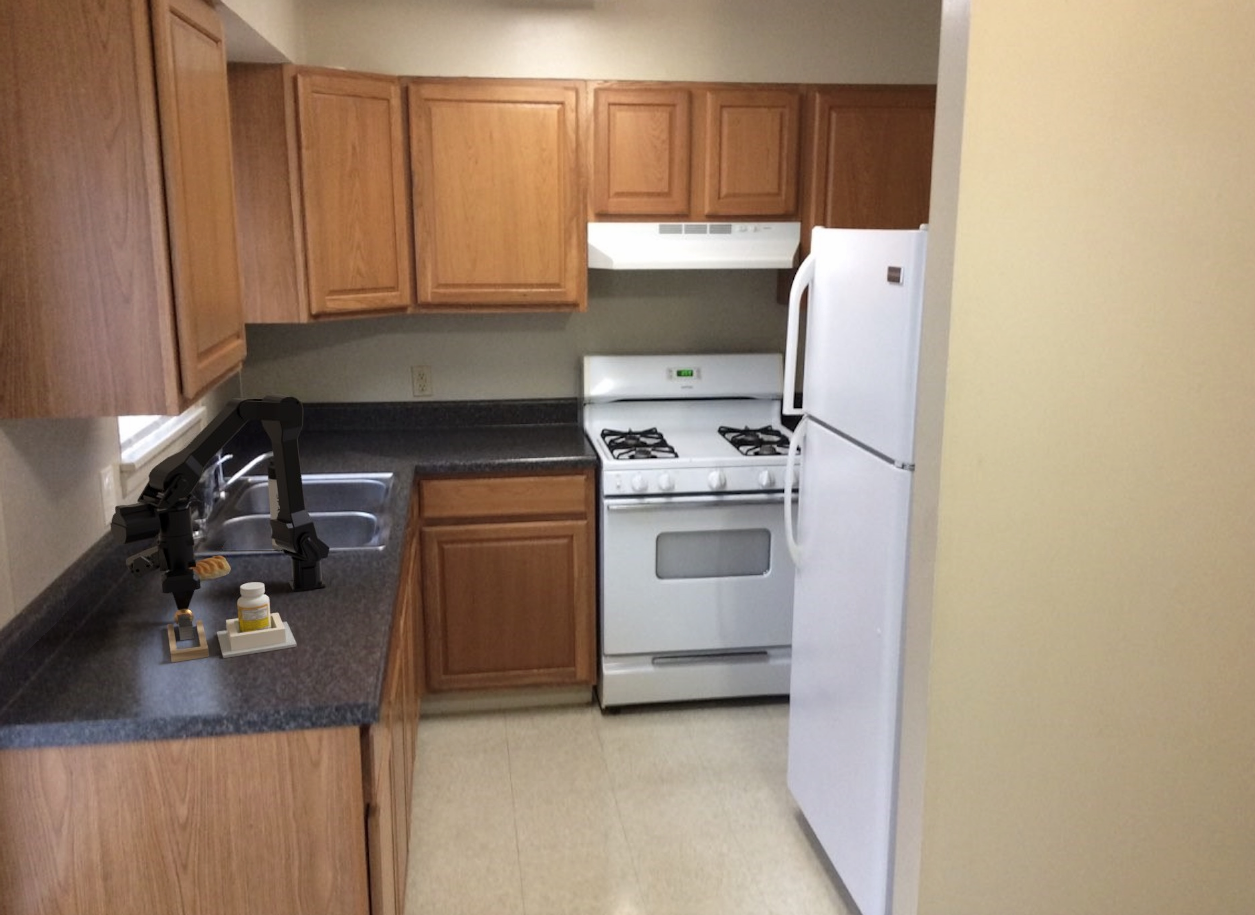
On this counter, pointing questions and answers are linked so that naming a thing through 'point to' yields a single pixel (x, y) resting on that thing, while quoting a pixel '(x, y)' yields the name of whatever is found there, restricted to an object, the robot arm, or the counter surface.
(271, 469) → the travel mug
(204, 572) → the pastry
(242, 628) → the supplement bottle
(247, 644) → the socket
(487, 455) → the counter surface
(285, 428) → the robot arm
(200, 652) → the mount
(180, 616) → the lock pin
